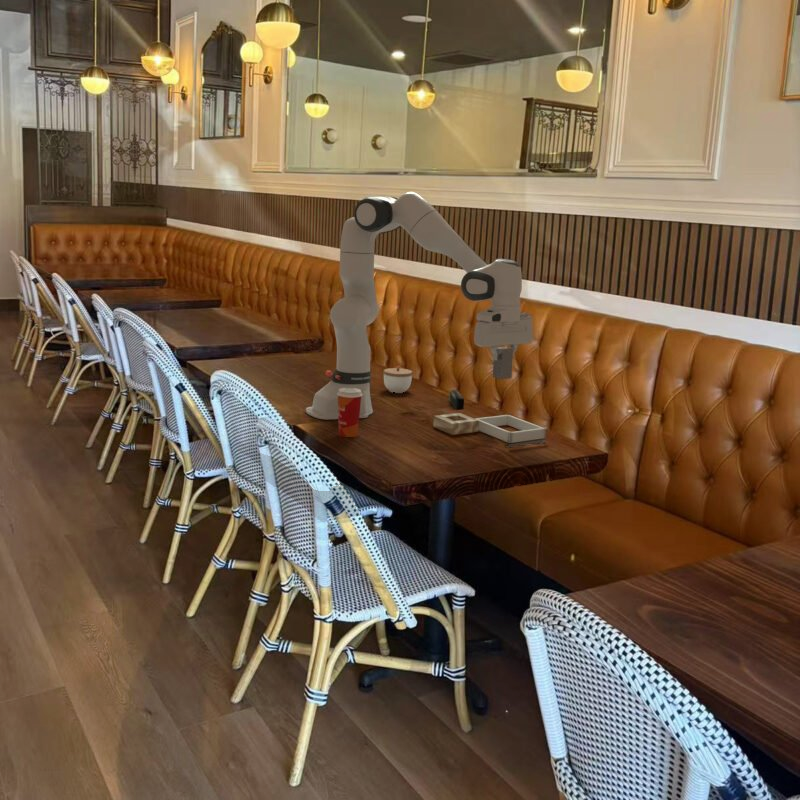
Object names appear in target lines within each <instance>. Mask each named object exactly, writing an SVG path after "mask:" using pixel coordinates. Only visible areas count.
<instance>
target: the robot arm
mask: <svg viewBox="0 0 800 800" xmlns="http://www.w3.org/2000/svg"><path fill="white" fill-rule="evenodd" d="M400 228H403V230H405V232H406V233H407V234H408V235H409V236H410V237H411V238H412V239H413V240H414V241H415V242H416V243H417V244H418V245H419V246H420V247H421V248H423V249H424V250H426V251H428V252H433V253H436V254H442V255H444V256H446V257H448V258H449V259H452V260H454V261H455V263H457V265H458V266H459V267H461V268H462V269H463V271H465V272H466V273H465V274H464V275H463V276H462V279H461V282H460V289H461V292H462V294H463V296H464V297H465V298H466V299H468V300H469V301H472V302H481V301H487V300H488V301H490V307H488V308H486V309H484V310H481V311H479V312H478V313H476V320H477V322H476V324H475V327H474V333H473V334H474V335H473V337H474V338H473V342H474V345H476V346H477V347H481V348H486V347H487V348H489V350H490V352H491V354H492V360H493V361H494V360H495V361H496V360H500V355H499V354H497V351H496V349H498V348H499V346H500V347H501V346H509V348H511V349H513V359H512V360H514V357H515V353H516V351H517V349H518V346H519V345H524V344H531V343H532V342H533V340H534V329H533V317H532V315H531V314H530V313H528V312H523V313H522V312H521V308H522V306H521V305H522V304H521V293H522V287H523V285H522V284H523V280H522V279H523V276H522V267H521V265H520V264H519V262H517V261H516V260H515V261H514V260H512V259H507V258H506V259H505V258H496V259H494V261H493V262H491V263H488V262H486V261H485V260H484V259H483V258H482V257H481V256H480V255H479V254H478V253H477V252H476V251H475V250H474V249H473V248H472V247H471V246H470V245H469V244H468V243H467V242H465V240H463V238H462V237H461V236H460V235H459V234H458V233H457V232H456V231H455V230H454V229H453V227H451V225H449V223H448V222H447V221H446V220H445V218H444V217H443V216H442V215H441V214H440V212H438V210H436V208H435V207H434V206H433V205H432V204H431V203H429V202H428V201H427V200H426V199H425V198H423V197H422V196H421V195H420V194H418V193H417V192H414V191H408V192H406V193H403V194H401V195H400V196H399V197H398V198H397V197H394V196H388V195H387V196H386V195H379V196H368V197H365V198H362V199H361V200H360V201H358V203H357V204H356V206H355V208H354V211H353V217H350V218H348V219H347V220H345V222H344V223H343V227H342V231H341V236H340V237H341V238H340V244H339V245H340V246H339V248H340V249H339V278H340V280H341V282H342V287H343V293H344V294H343V295H344V297H342V298H339V299H338V300H337V301H336V302H335V303H334V304H333V306H332V307H331V309H330V312H329V319H330V321H331V325H333V328H334V334H335V335H334V336H335V339H336V368H335V370H334V371H331V370H330V369H329V370H328V369H327V370H326V372H325V375H326V377H328V378H331V380H330V381H329V382H328V383H327V384H326V385H324V386H323V387H322V388H321V389H319V390H318V391H316V392H315V394H314V397H313V401H312V406H309V407H305V413H306V414H307V415H309V416H311V417H313V418H315V419H320V420H327V421H328V420H338V395H337V393H338V390H339V389H341V388H352V389H353V388H356V389H360V390H361V393H362V396H361V405H360V416H359V419H366V418H368V417H369V416H370V415H372V414H373V413H374V410H373V405H372V401H371V390H370V386H371V380H372V371H371V354H372V353H371V346H370V343H369V338H368V332H367V331H368V330H367V328H368V327H367V326H370V325H371V324H372V323H373V322H374V321H375V320H376V319H377V317H378V316H379V313H380V304H379V302H378V301H377V293H376V284H375V278H374V275H375V273H374V272H375V243H376V238H377V236H378V235H379V234H386V233H390V232H395V231H396V230H398V229H400Z"/></svg>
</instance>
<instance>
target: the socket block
mask: <svg viewBox="0 0 800 800" xmlns="http://www.w3.org/2000/svg"><path fill="white" fill-rule="evenodd" d="M432 425H433V426H432V427H433V428H435V429H437V430H439V431H442V432H444V433H446V434H449V435H451V436H454V435H455V436H456V435H461V434H470V433H476V432H477V433H478V432H479V430H478V427H479V420H476V419H475V418H473V417H470V416H469V415H466V414H464V413H461V412H458V413H457V412H456V413H447V414H439V415H433V424H432Z"/></svg>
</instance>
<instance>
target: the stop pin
mask: <svg viewBox="0 0 800 800" xmlns="http://www.w3.org/2000/svg"><path fill="white" fill-rule="evenodd" d="M496 351H497V354H499V355H500V360H496V361H495V360H493V368H492V371H493V372H492V378H496V379H499V380H506V379H512V375H513V360H514V359H513V349H511V347H507V346H502V347H501V346H500V347H499V346H498V349H496Z"/></svg>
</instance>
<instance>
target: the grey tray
mask: <svg viewBox="0 0 800 800" xmlns="http://www.w3.org/2000/svg"><path fill="white" fill-rule="evenodd" d="M474 419H476V420H479V427H478V432H481V433H484V434H487V435H489V436H491V437H494V438H496V439H499V440H501V441H503V442H505V443H508V444H504V445H505V446H504V447H506V446H508V447H511V448H513V447H512V446H518V447H520V446H519V445H525V446H528V445H527V444H532V445H537V444H536V443H539V444H545V443H546V432H547V428H545V427H543V426H541V425H537V424H535V423H531V422H529V421H526V420H524V419H522V418H519V417H516V416H513V415H510V414H502V415H494V416H493V415H492V416H486V417H485V416H484V417H477V418H474ZM501 426H510V427H512V428H515V429H517V431H516V430H515V431H509V430H507V429H504V428H502V427H501ZM544 442H545V443H544ZM508 447H507V448H508Z"/></svg>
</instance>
